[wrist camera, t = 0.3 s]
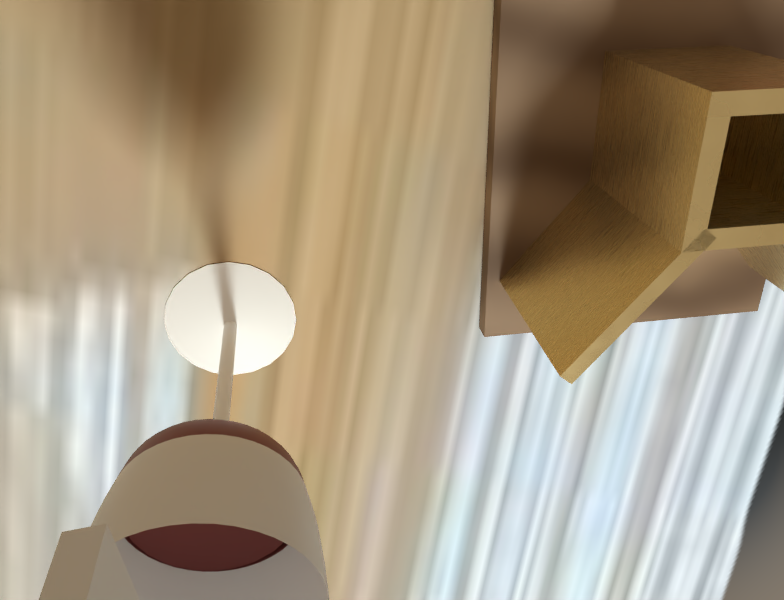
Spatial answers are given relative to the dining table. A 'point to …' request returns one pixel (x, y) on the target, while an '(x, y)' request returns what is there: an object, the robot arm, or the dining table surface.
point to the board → (592, 130)
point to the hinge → (659, 195)
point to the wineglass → (219, 464)
